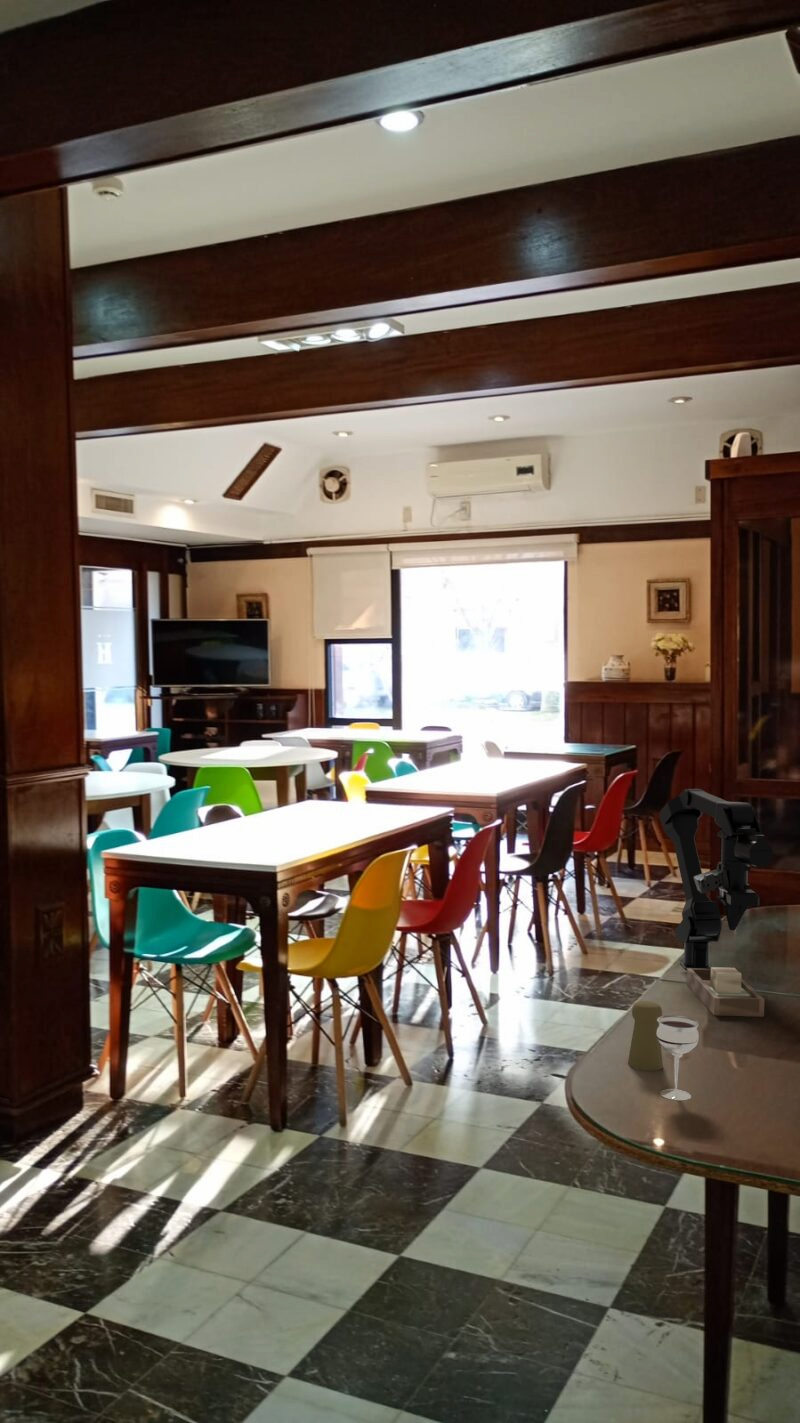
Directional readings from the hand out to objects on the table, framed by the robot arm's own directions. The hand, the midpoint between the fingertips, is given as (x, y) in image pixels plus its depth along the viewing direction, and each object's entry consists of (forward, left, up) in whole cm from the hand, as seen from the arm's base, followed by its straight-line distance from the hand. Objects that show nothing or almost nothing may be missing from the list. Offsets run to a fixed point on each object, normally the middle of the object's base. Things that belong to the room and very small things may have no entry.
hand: (732, 929), depth 256 cm
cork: (+54, -30, -12) cm, 63 cm away
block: (+14, -5, -10) cm, 18 cm away
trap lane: (+12, -5, -12) cm, 18 cm away
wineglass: (+68, -28, -12) cm, 75 cm away
